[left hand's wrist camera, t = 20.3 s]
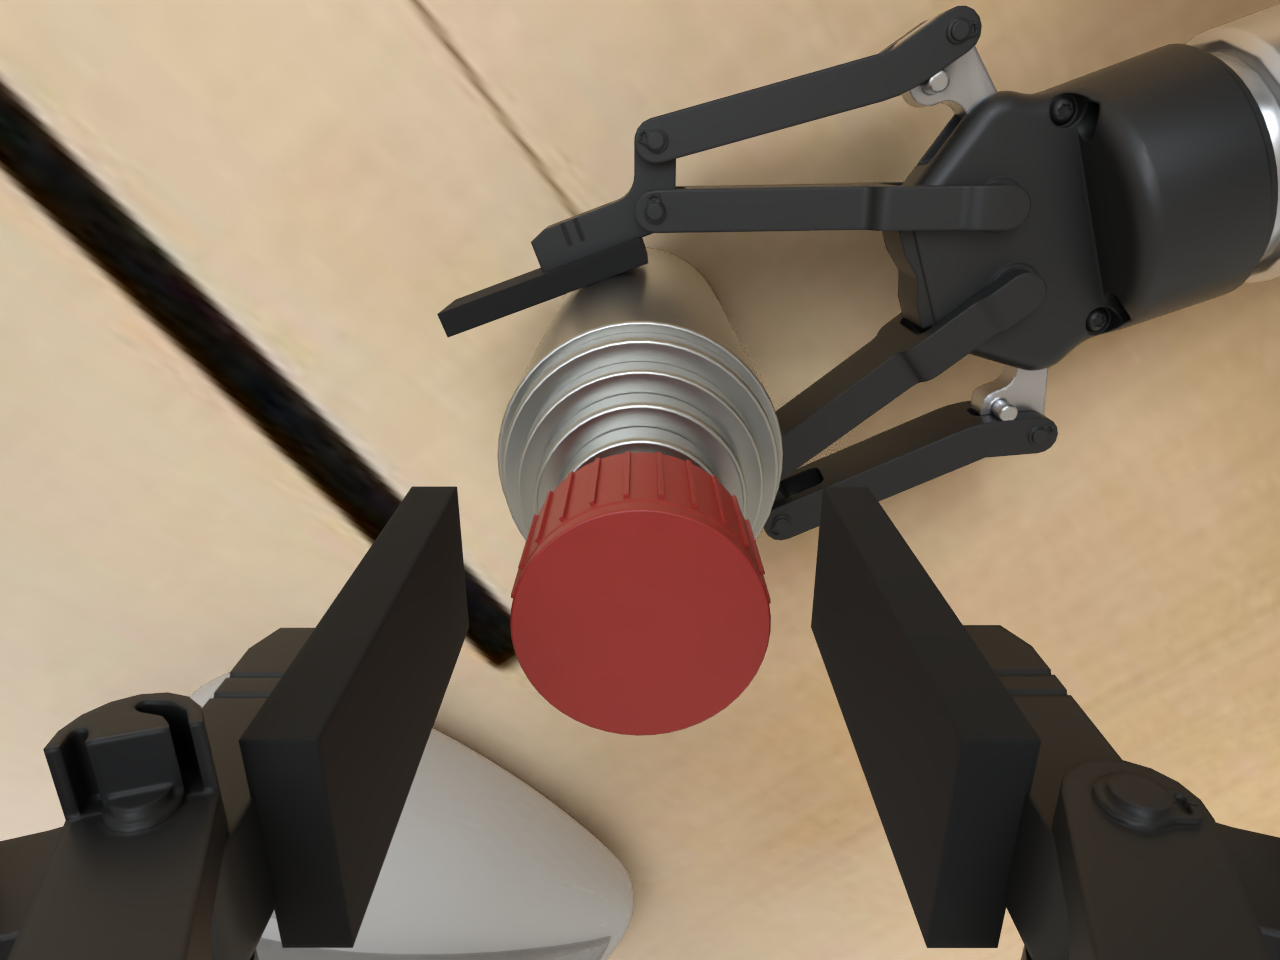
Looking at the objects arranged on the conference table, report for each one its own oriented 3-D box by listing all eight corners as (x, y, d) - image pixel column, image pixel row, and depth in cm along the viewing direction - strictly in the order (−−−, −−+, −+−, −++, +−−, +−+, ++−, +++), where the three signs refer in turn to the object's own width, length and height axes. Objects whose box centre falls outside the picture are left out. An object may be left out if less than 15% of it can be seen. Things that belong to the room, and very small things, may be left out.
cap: (480, 550, 15) (451, 624, 12) (644, 400, 14) (645, 451, 11) (636, 688, 16) (636, 780, 13) (799, 557, 15) (828, 633, 12)
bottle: (663, 440, 35) (695, 832, 15) (527, 355, 33) (358, 659, 13) (755, 307, 33) (936, 552, 13) (614, 213, 31) (570, 317, 11)
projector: (284, 1020, 47) (137, 1377, 33) (54, 693, 39) (-263, 985, 25) (662, 926, 44) (671, 1272, 30) (497, 556, 36) (411, 798, 23)
